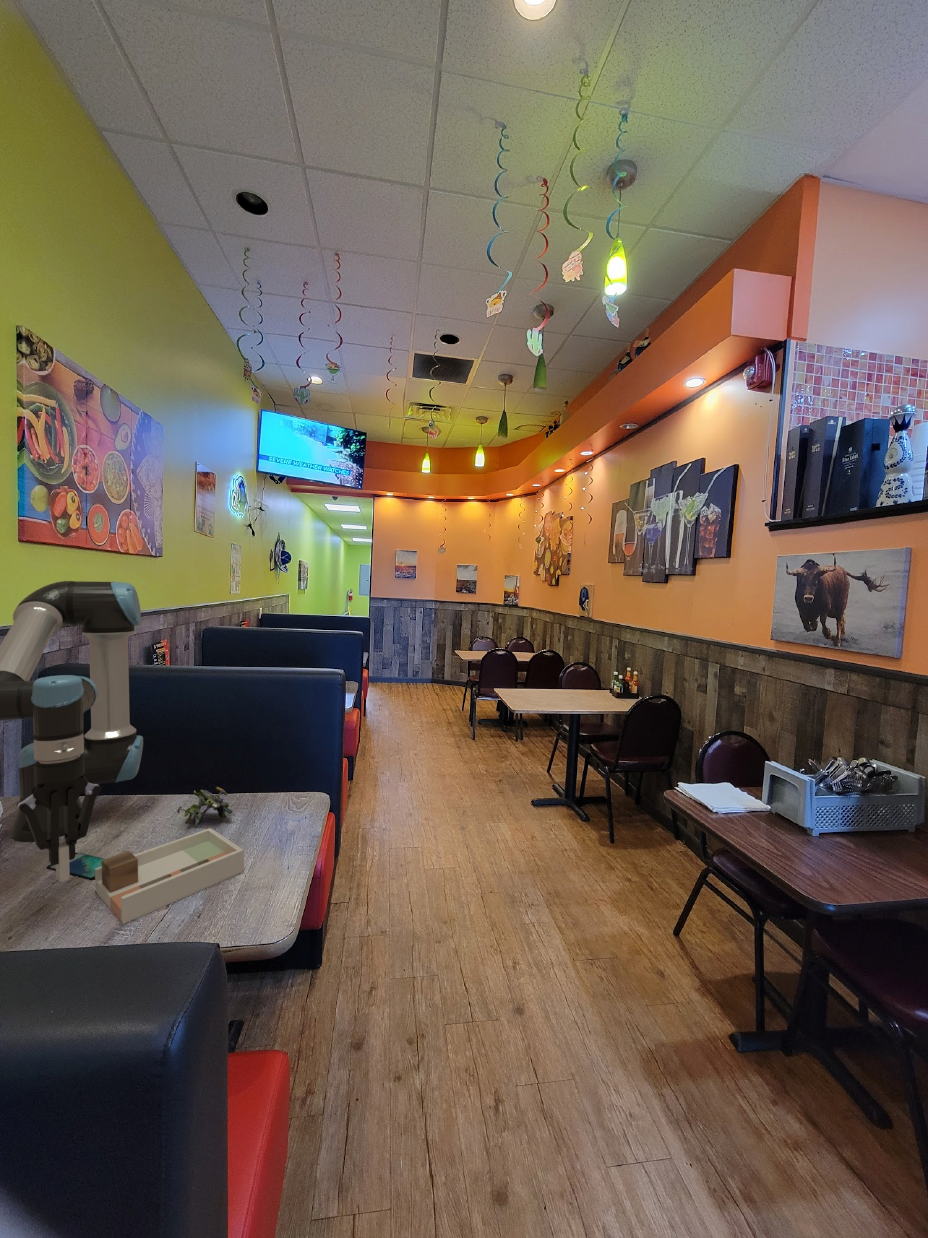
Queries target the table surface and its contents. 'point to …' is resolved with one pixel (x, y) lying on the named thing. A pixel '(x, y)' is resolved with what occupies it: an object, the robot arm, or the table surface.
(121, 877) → the walnut block
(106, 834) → the table surface
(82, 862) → the smartphone
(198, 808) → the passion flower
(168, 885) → the tray
